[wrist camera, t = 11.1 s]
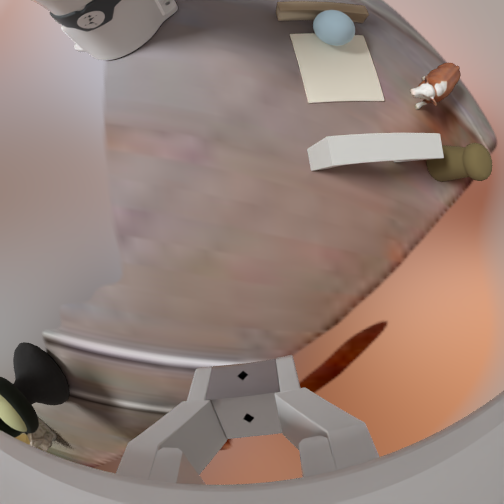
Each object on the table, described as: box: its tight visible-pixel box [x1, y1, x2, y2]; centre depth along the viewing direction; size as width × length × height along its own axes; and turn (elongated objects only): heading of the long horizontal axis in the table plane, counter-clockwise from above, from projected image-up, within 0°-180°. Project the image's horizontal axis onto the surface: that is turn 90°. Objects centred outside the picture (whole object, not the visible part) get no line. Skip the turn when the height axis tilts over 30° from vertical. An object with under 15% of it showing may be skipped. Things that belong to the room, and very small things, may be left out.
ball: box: [313, 10, 355, 46], centre depth 26 cm, size 6×6×6 cm
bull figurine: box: [410, 63, 460, 110], centre depth 27 cm, size 4×13×8 cm, turn 129°
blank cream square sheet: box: [290, 33, 384, 103], centre depth 30 cm, size 12×12×1 cm
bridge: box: [307, 133, 444, 171], centre depth 29 cm, size 3×15×10 cm, turn 100°
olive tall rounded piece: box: [427, 143, 492, 182], centre depth 28 cm, size 6×6×11 cm
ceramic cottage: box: [27, 418, 56, 451], centre depth 43 cm, size 16×16×15 cm
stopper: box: [276, 1, 369, 23], centre depth 27 cm, size 2×14×3 cm, turn 101°
